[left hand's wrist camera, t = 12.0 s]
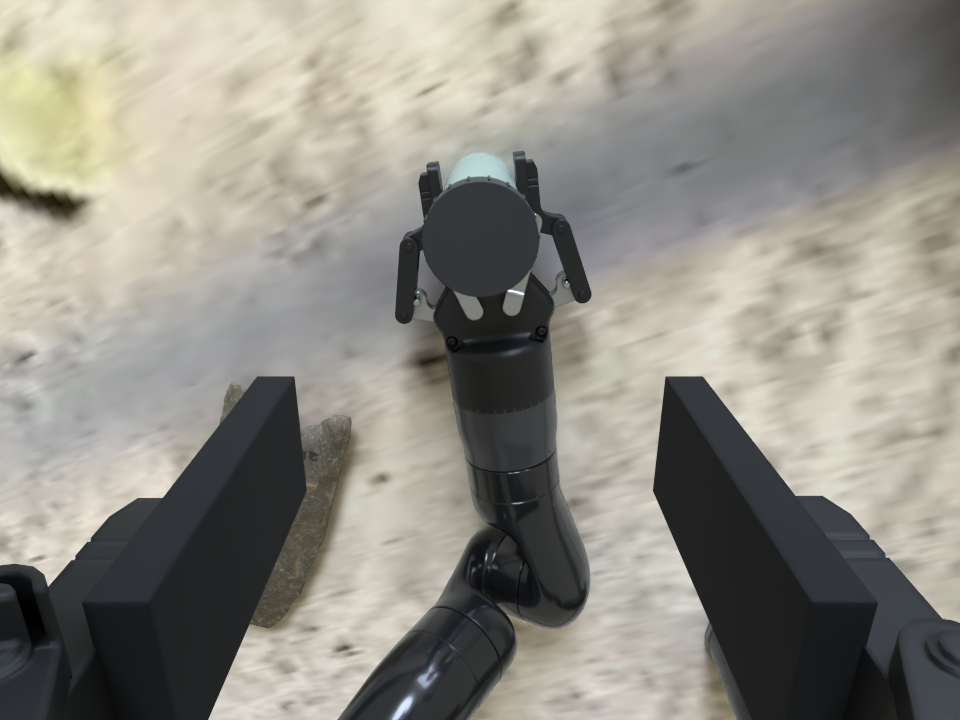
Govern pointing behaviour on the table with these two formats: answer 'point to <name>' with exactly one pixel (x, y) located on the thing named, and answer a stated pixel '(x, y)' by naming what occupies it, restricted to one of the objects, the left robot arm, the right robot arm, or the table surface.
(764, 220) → the table surface
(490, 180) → the lid
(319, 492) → the stone tool
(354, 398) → the table surface
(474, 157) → the mint green bottle
